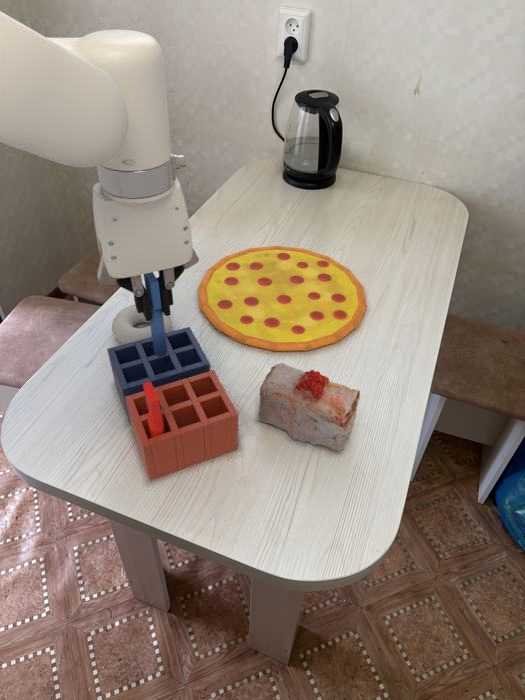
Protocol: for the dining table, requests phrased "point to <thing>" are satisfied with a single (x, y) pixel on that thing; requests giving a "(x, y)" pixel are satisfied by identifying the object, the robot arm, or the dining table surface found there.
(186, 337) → the blue caddy
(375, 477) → the dining table surface
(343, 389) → the food item
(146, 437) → the red caddy
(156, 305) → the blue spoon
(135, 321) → the donut
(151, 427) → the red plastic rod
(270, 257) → the pizza
